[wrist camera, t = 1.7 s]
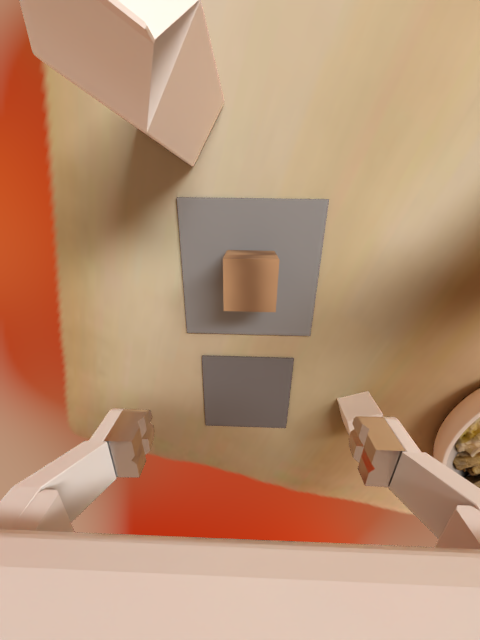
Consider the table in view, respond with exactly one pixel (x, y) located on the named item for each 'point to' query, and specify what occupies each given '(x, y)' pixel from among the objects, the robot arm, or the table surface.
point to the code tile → (251, 234)
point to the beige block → (357, 408)
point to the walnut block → (250, 280)
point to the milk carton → (136, 62)
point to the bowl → (461, 439)
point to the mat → (246, 390)
